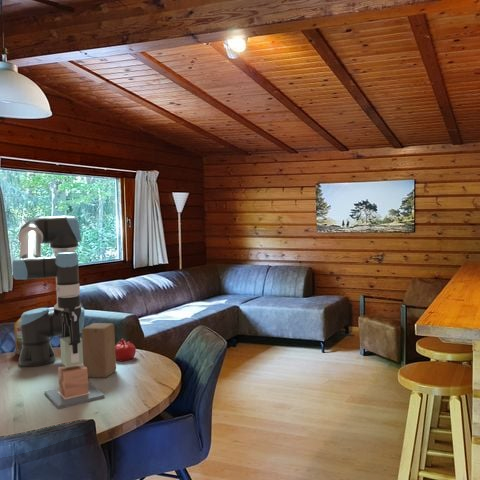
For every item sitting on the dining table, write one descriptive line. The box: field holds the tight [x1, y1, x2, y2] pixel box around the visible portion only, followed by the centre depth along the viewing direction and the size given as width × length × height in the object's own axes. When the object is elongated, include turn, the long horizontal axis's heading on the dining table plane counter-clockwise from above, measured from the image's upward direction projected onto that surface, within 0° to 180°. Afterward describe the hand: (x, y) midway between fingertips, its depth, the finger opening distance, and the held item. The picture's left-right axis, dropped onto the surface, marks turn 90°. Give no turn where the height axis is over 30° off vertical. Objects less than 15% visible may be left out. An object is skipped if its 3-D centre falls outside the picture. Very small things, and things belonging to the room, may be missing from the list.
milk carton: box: [13, 311, 26, 356], centre depth 245 cm, size 11×11×19 cm
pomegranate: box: [115, 338, 137, 362], centre depth 229 cm, size 10×10×9 cm
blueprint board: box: [44, 381, 105, 410], centre depth 185 cm, size 18×16×1 cm
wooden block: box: [81, 322, 117, 379], centre depth 208 cm, size 10×10×20 cm
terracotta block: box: [57, 364, 89, 398], centre depth 184 cm, size 8×8×9 cm
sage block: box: [59, 337, 83, 367], centre depth 184 cm, size 6×6×9 cm
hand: (72, 359), depth 184 cm, fingers closed on sage block, 6 cm apart
